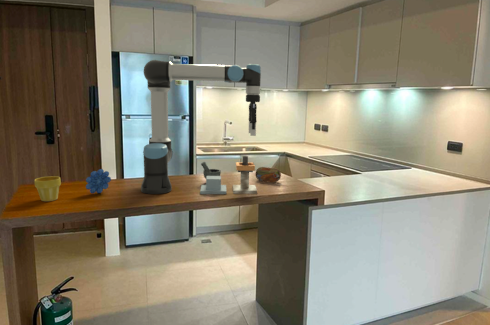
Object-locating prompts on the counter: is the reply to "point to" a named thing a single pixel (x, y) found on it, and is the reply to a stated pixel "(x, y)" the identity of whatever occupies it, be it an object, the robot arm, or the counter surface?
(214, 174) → the mortar and pestle
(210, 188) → the block
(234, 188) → the post stand
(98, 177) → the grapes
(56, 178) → the plant pot
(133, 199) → the counter surface
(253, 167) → the link
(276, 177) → the tin
